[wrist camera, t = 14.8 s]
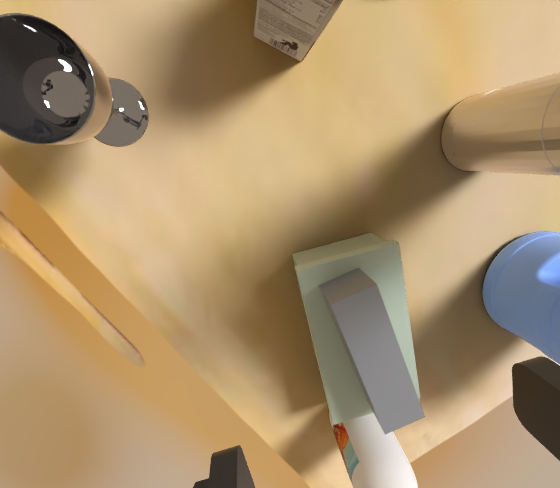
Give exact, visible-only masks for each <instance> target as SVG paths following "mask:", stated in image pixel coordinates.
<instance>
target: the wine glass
mask: <svg viewBox="0 0 560 488" xmlns="http://www.w3.org/2000/svg"><path fill="white" fill-rule="evenodd" d="M147 125H148V109H147V106H146V103H145V101H144V99H143V97H142V96H141V94H140V93H139V92H138V91H137V90H136V89H135V88H134V87H133V86H132V85H130V84H129V83H127V82H125V81H123V80H120V79H116V78H107V76H106V74H105V72H104V71H103V69H102V67H101V66H100V65H99V63H98V62H97V61H96V60H95V58H94V57H93V56H92V55H91V54H90V53H89V52H88V51H87V50H86V49H85V48H84V47H83V46H82V45H81V44H80V43H79V42H77V41H76V40H75V39H74V38H72V37H71V36H70V35H68V34H67V33H65V32H64V31H63V30H61V29H60V28H58V27H57V26H55V25H54V24H52V23H50V22H48V21H46V20H44V19H42V18H39V17H35V16H32V15H28V14H21V13H10V14H3V15H0V130H1V131H2V132H4V133H6V134H7V135H9V136H11V137H14V138H16V139H18V140H21V141H25V142H29V143H34V144H45V145H68V144H74V143H78V142H82V141H86V140H88V139H90V138H92V137H95V138H96V139H98V140H99V141H101V142H103V143H105V144H107V145H111V146H118V147H120V146H127V145H130V144H132V143H134V142H136V141H137V140H139V139H140V138H141V136H142V135H143V134H144V132H145V130H146V128H147Z"/></svg>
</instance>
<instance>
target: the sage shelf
mask: <svg viewBox="0 0 560 488" xmlns="http://www.w3.org/2000/svg"><path fill="white" fill-rule="evenodd" d="M292 258H293V262H294V265H295V266H294V267H295V271H296V275H297V279H298V283H299V288H300V292H301V296H302V300H303V304H304V308H305V312H306V317H307V321H308V325H309V329H310V333H311V337H312V342H313V346H314V350H315V354H316V358H317V362H318V367H319V371H320V375H321V379H322V383H323V387H324V391H325V396H326V400H327V404H328V408H329V412H330V416H331V419H332V422H333V425H335V424H339V423H342V422H345V421H349V420H352V419H355V418H359V417H362V416H365V415H369V414H372V413H373V411H372V409H371V407H370V405H369V404H368V401H367V399H366V397H365V394H364V392H363V389H362V387H361V385H360V382H359V380H358V378H357V375H356V373H355V371H354V368H353V366H352V363H351V361H350V359H349V356H348V354H347V352H346V349H345V347H344V345H343V342H342V340H341V337H340V335H339V333H338V330H337V328H336V326H335V323H334V321H333V319H332V316H331V314H330V311H329V309H328V307H327V304H326V302H325V300H324V297H323V295H322V293H321V290H320V288H319V285H321V284H323V283H325V282H327V281H330V280H332V279H334V278H336V277H339V276H341V275H343V274H345V273H347V272H350V271H352V270H354V269H356V268H360V269H361V270H362V271H363V272H364V273H365V274H367V275H368V276H369V277H370V278H371V279H372V280H373V281H374V282H375V283H376V284H377V286H378V288H379V291H380V294H381V297H382V299H383V302H384V305H385V308H386V310H387V313H388V316H389V319H390V322H391V324H392V327H393V330H394V333H395V335H396V338H397V341H398V344H399V346H400V349H401V352H402V355H403V357H404V360H405V363H406V366H407V369H408V371H409V374H410V377H411V380H412V382H413V385H414V388H415V391H416V393H417V396H418V399H421V398H420V391H419V383H418V376H417V369H416V362H415V355H414V348H413V340H412V333H411V326H410V319H409V312H408V304H407V297H406V290H405V283H404V276H403V269H402V261H401V254H400V247H399V243H398V242H396V241H394V240H390V241H385V240H383V239H381V238H380V237H378V236H376V235H374V234H372V233H367V234H364V235H360V236H356V237H352V238H349V239H345V240H341V241H337V242H334V243H330V244H326V245H322V246H319V247H315V248H311V249H308V250H304V251H300V252H296V253H293V254H292Z"/></svg>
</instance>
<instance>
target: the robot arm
mask: <svg viewBox="0 0 560 488" xmlns="http://www.w3.org/2000/svg"><path fill="white" fill-rule="evenodd" d="M441 143H442V148H443V152H444V154H445V156H446V158H447V159H448V161H449V162H450V163H451V164H452V165H454V166H455V167H457V168H459V169H461V170H466V171H482V172H500V173H520V174H541V175H560V72H559V73H556V74H552V75H548V76H545V77H541V78H537V79H534V80H530V81H526V82H523V83H519V84H515V85H512V86H508V87H504V88H501V89H496V90H493V91H489V92H486V93H482V94H478V95H475V96H471V97H468V98H466V99H464V100H462V101H461V102H460V103H458V104H457V105H456V106H455V107H454V108H453V109H452V110H451V111H450V113H449V115H448V116H447V118H446V120H445V123H444V125H443V129H442V134H441ZM512 381H513V405H514V410H515V413H516V415H517V417H518V419H519V420H520V422H521V423H522V425H523V426H524V427H525V428H526V429H527V430H528V432H530V433H531V434H532V435H533V436H534V437H535V438H536V439H537V440H538V441H539V442H540V443H541V444H542V445H543V446H544V447H546V448H547V449H548V450H549V451H550V452H551V453H552V454H553V455H554V456H555V457H556V458H557V459H559V461H560V366H559V365H558V364H556V363H555V362H553V361H551V360H550V359H548V358H546V357H536V358H533V359H530V360H526V361H523V362H520V363H516V364H514V365H513V367H512ZM210 465H211V466H210V476H209V478H208V479H205V480H202V481H198V482H196V483H195V485H194V487H193V488H255V486H254V482H253V479H252V477H251V474H250V471H249V468H248V466H247V462H246V460H245V457H244V454H243V451H242V448H241V447H240V446H235V447H232V448H228V449H225V450H222V451H219V452H215V453H213V454H212V457H211V464H210Z"/></svg>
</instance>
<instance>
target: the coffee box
mask: <svg viewBox="0 0 560 488" xmlns="http://www.w3.org/2000/svg"><path fill="white" fill-rule="evenodd" d="M342 1H343V0H257V7H256V15H255V24H254V33H253V36H254V37H256V38H258V39H260V40H261V41H263V42H265V43H267V44H269V45H271V46H272V47H274V48H276V49H278V50H280V51H282V52H284V53H285V54H287V55H289V56H291V57H293V58H295V59H297V60H298V61H303V60H304V58H305V57H306V55H307V54H308V52H309V50H310V49H311V48H312V46H313V45H314V43H315V42H316V40H317V39H318V37H319V36H320V34H321V33H322V31H323V30H324V29H325V27H326V25H327V24H328V23H329V21H330V20H331V18H332V17H333V15H334V13H335V12H336V10H337V9H338V7H339V6H340V4H341V3H342Z"/></svg>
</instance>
